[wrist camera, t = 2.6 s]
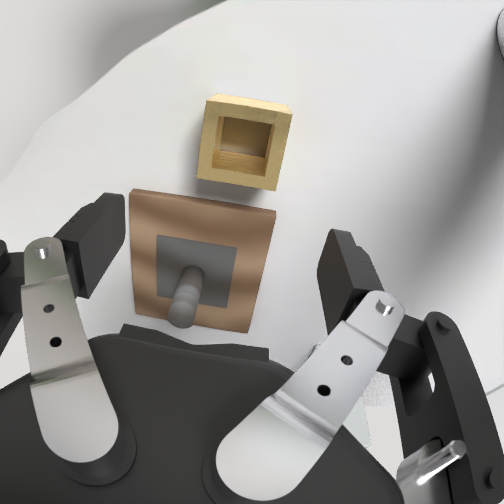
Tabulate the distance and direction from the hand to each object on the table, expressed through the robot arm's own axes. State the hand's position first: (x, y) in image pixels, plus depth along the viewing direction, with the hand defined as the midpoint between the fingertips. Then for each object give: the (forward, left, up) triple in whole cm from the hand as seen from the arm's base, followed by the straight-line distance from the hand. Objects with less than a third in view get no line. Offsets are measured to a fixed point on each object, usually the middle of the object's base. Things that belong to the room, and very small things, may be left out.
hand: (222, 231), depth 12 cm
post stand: (+15, -3, -17) cm, 23 cm away
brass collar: (0, 0, -17) cm, 17 cm away
